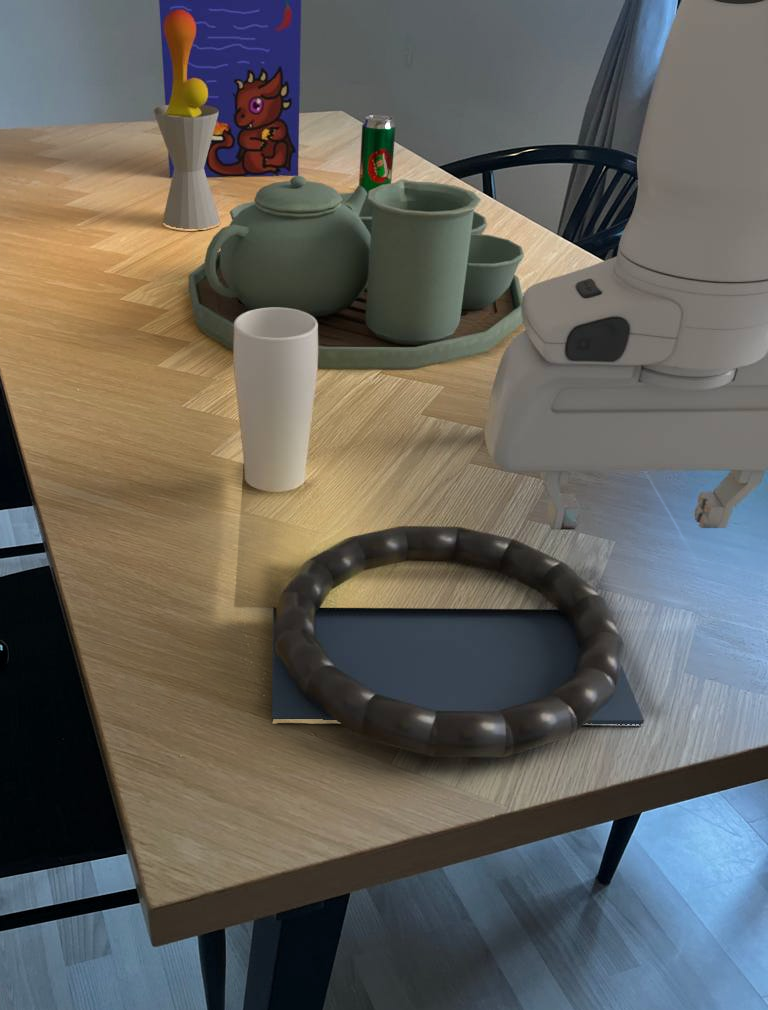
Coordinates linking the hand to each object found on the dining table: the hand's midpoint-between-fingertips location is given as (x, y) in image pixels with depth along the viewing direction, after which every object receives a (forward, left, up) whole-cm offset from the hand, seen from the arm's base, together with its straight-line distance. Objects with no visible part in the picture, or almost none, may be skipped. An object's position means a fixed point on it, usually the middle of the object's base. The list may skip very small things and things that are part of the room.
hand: (634, 524), depth 62 cm
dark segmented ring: (+11, 0, -9) cm, 14 cm away
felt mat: (+11, 0, -11) cm, 15 cm away
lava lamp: (+36, -99, -11) cm, 106 cm away
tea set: (+14, -64, -11) cm, 67 cm away
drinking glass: (+23, -22, -11) cm, 34 cm away
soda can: (+8, -111, -11) cm, 112 cm away
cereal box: (+31, -128, -11) cm, 132 cm away
